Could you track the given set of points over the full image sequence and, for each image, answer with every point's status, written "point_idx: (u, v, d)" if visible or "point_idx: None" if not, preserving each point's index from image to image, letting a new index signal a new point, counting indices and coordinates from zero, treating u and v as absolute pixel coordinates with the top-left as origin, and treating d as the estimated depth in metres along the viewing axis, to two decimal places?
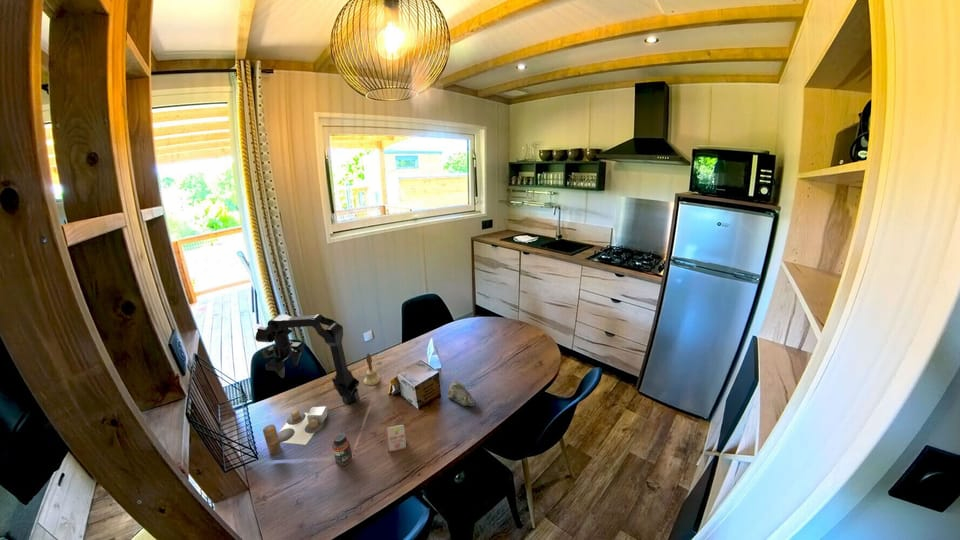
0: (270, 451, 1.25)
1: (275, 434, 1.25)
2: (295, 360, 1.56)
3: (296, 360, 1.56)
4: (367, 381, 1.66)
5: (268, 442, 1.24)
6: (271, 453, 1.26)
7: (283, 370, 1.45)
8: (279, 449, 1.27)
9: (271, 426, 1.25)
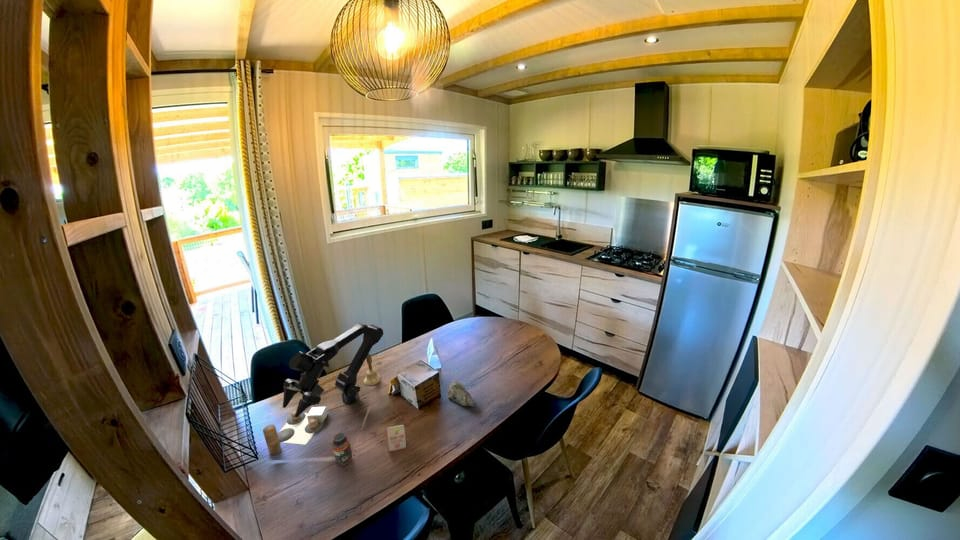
0: (270, 451, 1.25)
1: (275, 434, 1.25)
2: None
3: None
4: (367, 381, 1.66)
5: (268, 442, 1.24)
6: (271, 453, 1.26)
7: (284, 393, 1.33)
8: (279, 449, 1.27)
9: (271, 426, 1.25)
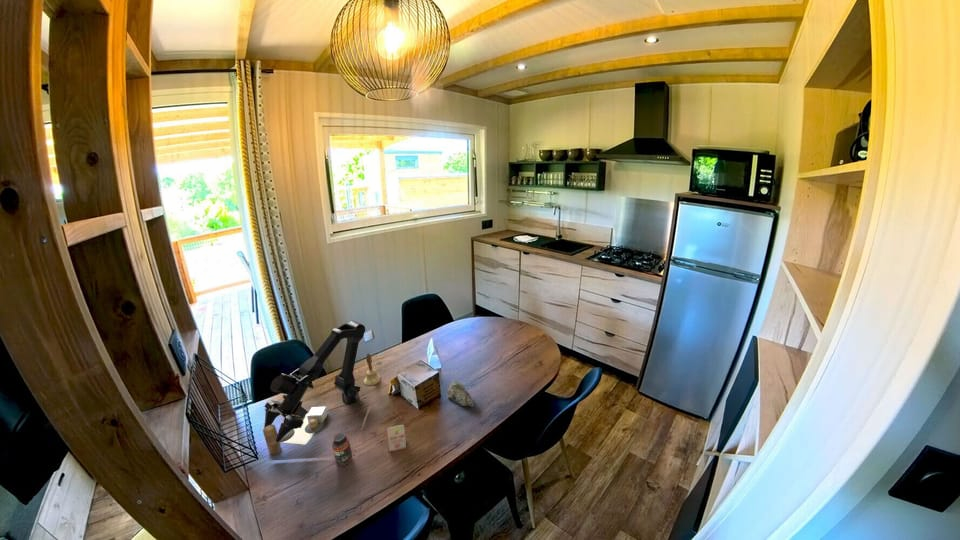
0: (270, 451, 1.25)
1: (275, 434, 1.25)
2: None
3: None
4: (367, 381, 1.66)
5: (268, 442, 1.24)
6: (271, 453, 1.26)
7: (266, 416, 1.28)
8: (279, 449, 1.27)
9: (271, 426, 1.25)
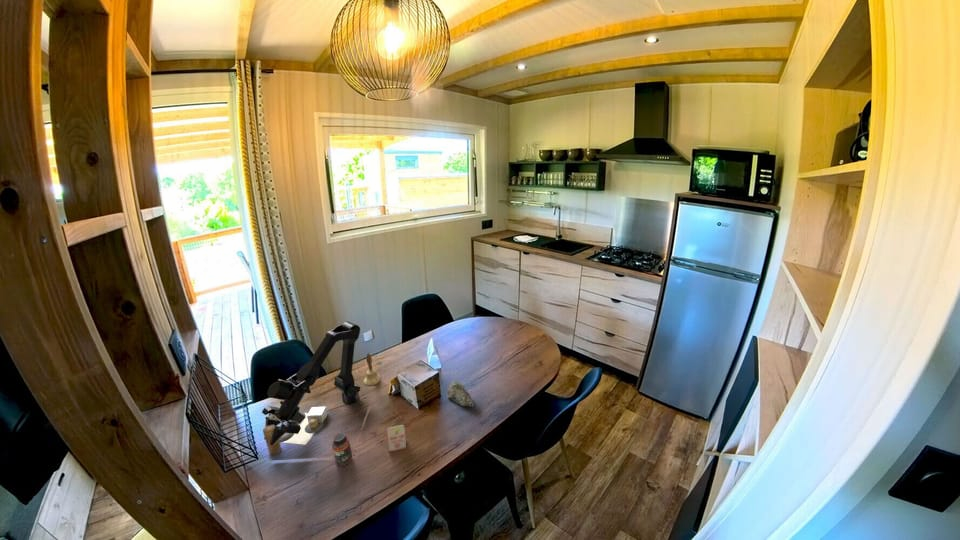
0: (270, 451, 1.25)
1: None
2: None
3: None
4: (367, 381, 1.66)
5: (268, 442, 1.24)
6: (271, 453, 1.26)
7: (266, 424, 1.26)
8: (279, 449, 1.27)
9: (271, 426, 1.25)
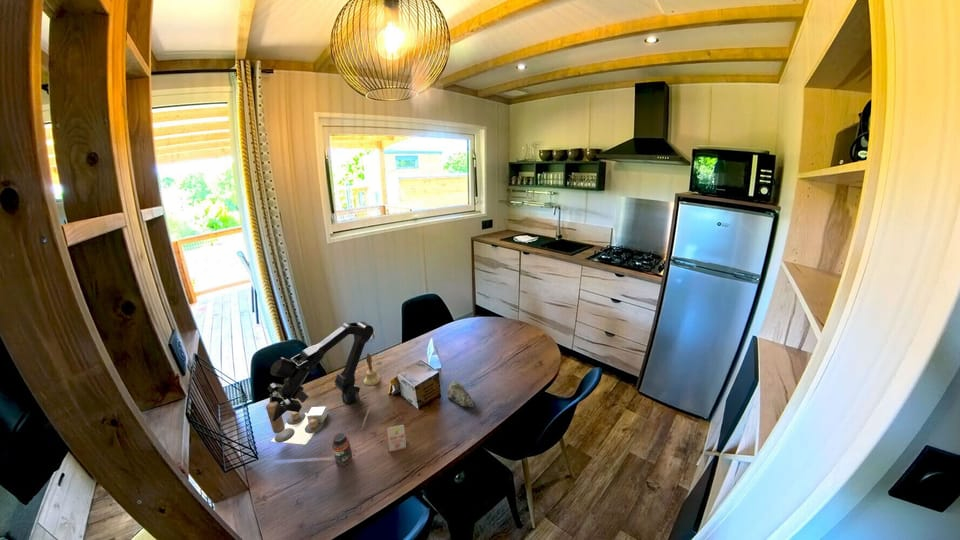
0: (273, 427, 1.28)
1: None
2: None
3: None
4: (367, 381, 1.66)
5: (271, 418, 1.26)
6: (274, 429, 1.28)
7: (270, 401, 1.29)
8: (282, 426, 1.30)
9: (274, 403, 1.28)
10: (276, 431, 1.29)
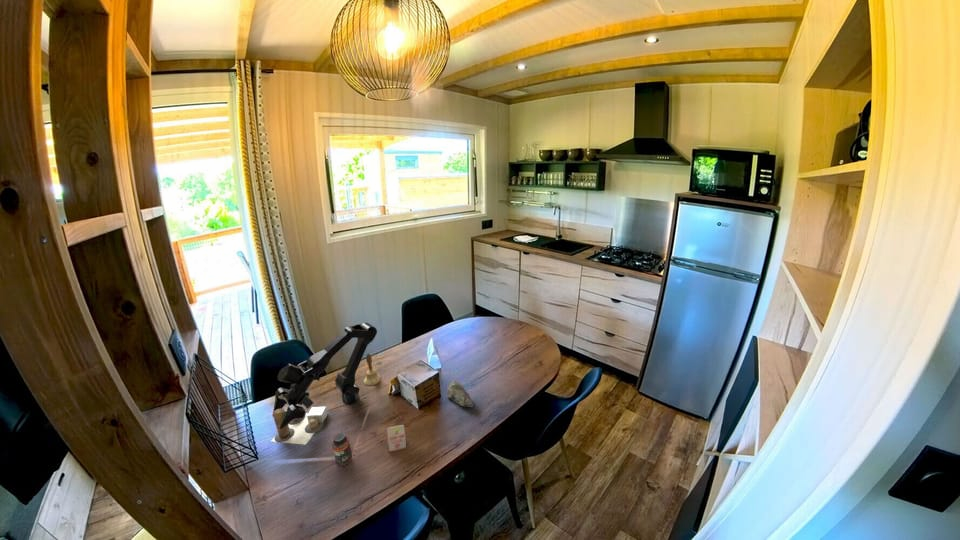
0: (279, 433, 1.32)
1: None
2: None
3: None
4: (367, 381, 1.66)
5: (277, 424, 1.31)
6: (280, 435, 1.33)
7: (275, 402, 1.35)
8: (287, 432, 1.34)
9: (280, 410, 1.32)
10: (282, 437, 1.33)
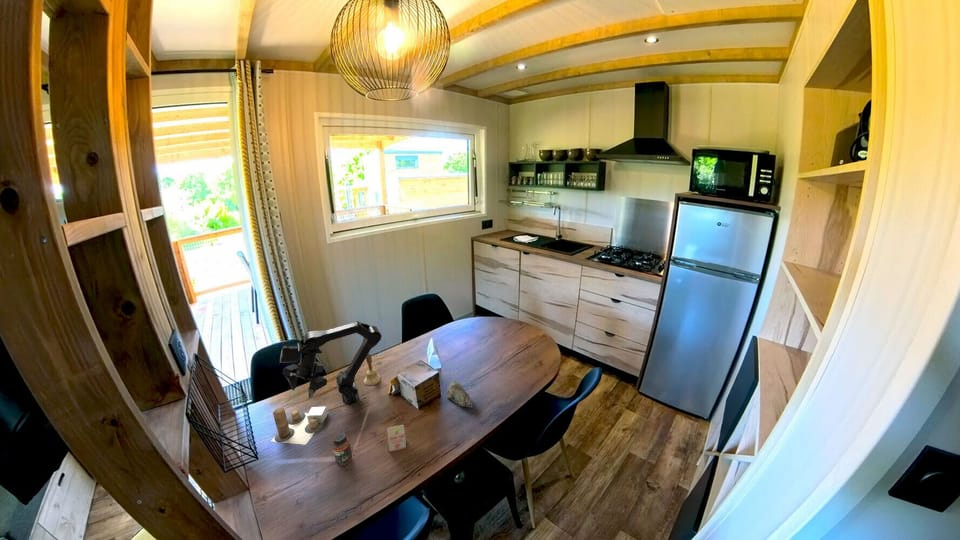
0: (279, 433, 1.32)
1: (283, 417, 1.31)
2: None
3: None
4: (367, 381, 1.66)
5: (277, 424, 1.31)
6: (280, 435, 1.33)
7: (288, 381, 1.40)
8: (287, 432, 1.34)
9: (281, 409, 1.32)
10: (282, 437, 1.33)
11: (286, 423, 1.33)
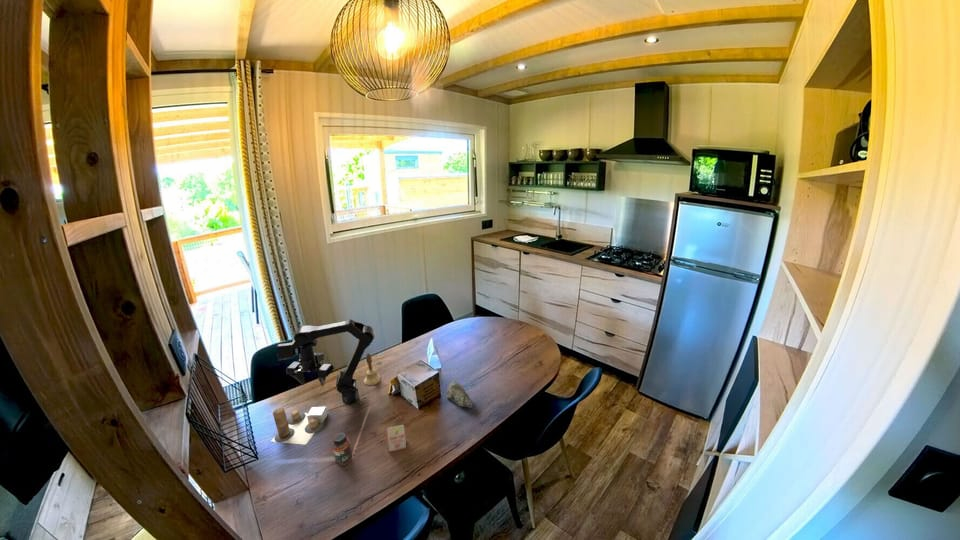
0: (279, 433, 1.32)
1: (283, 417, 1.31)
2: None
3: None
4: (367, 381, 1.66)
5: (277, 424, 1.31)
6: (280, 435, 1.33)
7: (295, 378, 1.43)
8: (287, 432, 1.34)
9: (281, 409, 1.32)
10: (282, 437, 1.33)
11: (286, 423, 1.33)
